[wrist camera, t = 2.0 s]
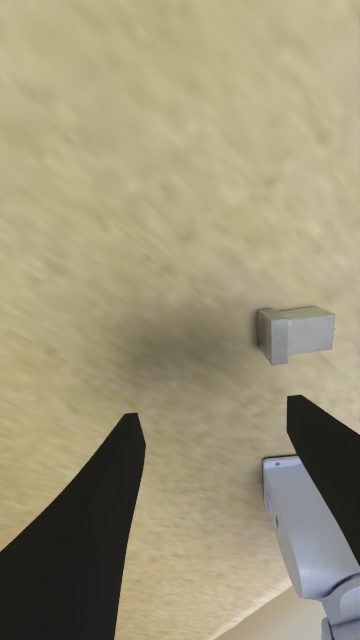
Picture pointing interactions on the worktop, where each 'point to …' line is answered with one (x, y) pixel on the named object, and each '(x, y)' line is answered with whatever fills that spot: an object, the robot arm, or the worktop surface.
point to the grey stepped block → (294, 332)
